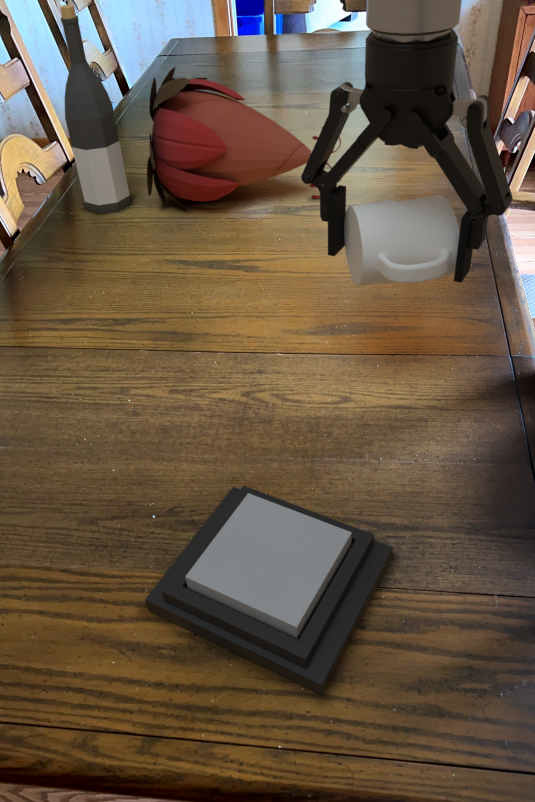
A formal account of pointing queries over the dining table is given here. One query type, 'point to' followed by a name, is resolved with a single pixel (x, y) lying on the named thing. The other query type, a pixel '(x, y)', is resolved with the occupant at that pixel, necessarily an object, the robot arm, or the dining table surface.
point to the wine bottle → (92, 128)
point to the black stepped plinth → (256, 641)
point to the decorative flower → (213, 142)
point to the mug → (401, 241)
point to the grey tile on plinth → (270, 563)
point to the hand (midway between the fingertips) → (396, 262)
